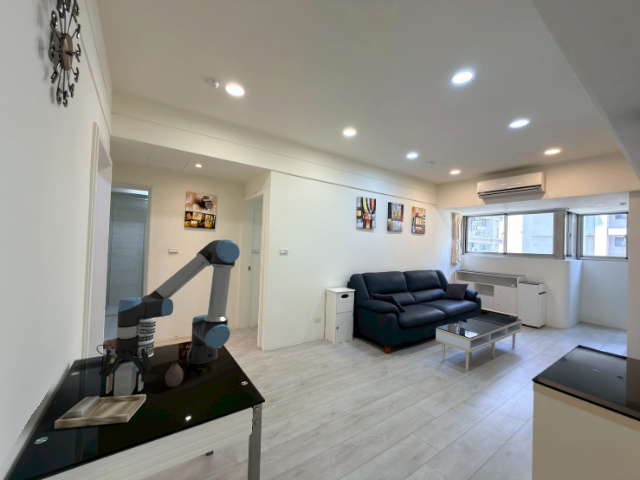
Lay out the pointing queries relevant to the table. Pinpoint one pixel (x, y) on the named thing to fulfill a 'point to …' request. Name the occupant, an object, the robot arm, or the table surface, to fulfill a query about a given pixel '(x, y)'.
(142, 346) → the decorative candle
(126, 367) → the small box
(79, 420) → the organizer
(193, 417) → the table surface
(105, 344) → the mug
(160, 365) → the table surface
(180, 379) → the vase
